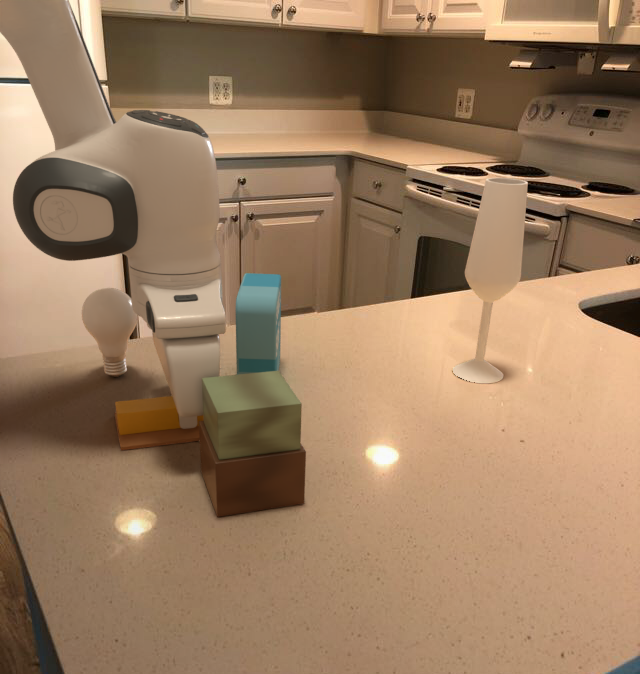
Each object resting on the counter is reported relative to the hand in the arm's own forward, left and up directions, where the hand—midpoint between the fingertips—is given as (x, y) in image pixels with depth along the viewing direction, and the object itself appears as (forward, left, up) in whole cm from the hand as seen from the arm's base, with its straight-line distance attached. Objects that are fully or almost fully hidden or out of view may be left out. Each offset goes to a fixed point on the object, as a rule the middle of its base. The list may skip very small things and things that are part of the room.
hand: (184, 416), depth 76 cm
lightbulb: (-6, +15, -1) cm, 16 cm away
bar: (0, 0, -1) cm, 1 cm away
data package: (+11, +10, -1) cm, 15 cm away
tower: (+4, -14, -1) cm, 14 cm away
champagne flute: (+39, +5, -1) cm, 39 cm away
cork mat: (0, 0, -1) cm, 1 cm away
